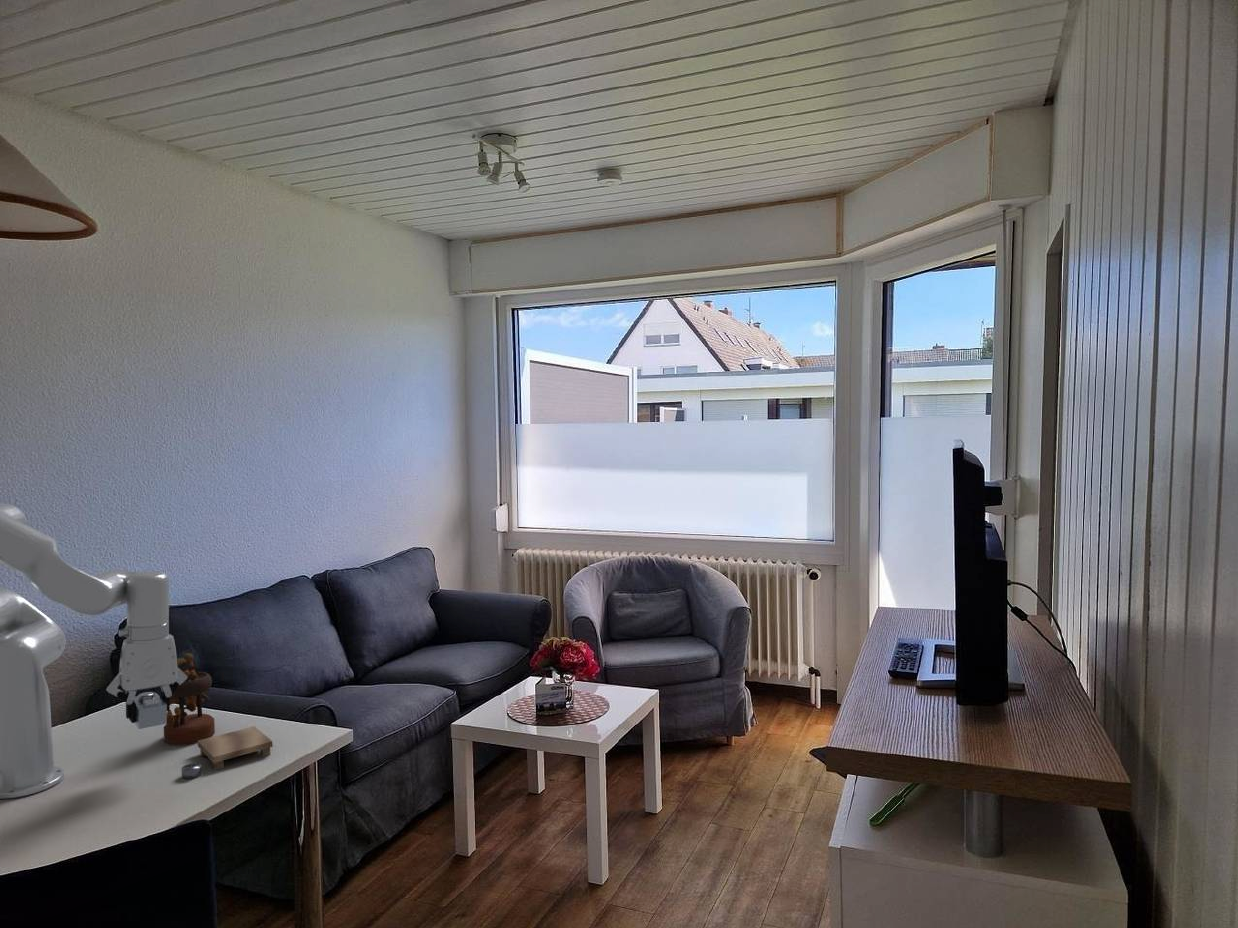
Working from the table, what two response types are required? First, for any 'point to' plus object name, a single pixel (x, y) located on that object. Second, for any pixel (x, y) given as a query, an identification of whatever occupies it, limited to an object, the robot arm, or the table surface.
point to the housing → (150, 710)
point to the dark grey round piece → (191, 771)
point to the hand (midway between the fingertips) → (148, 716)
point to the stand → (234, 745)
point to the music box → (189, 708)
